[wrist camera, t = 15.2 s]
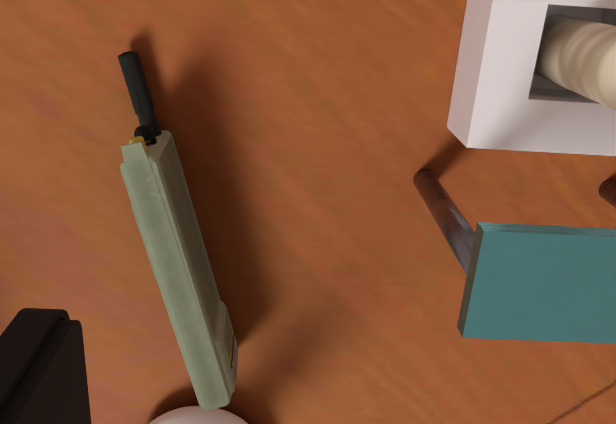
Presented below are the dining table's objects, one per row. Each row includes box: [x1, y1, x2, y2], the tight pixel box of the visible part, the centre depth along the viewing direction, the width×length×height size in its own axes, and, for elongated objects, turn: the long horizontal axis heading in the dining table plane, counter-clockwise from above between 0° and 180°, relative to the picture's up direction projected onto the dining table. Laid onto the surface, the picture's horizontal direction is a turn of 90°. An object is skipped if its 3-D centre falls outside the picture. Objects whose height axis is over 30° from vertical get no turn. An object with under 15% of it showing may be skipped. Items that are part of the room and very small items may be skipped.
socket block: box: [447, 0, 616, 156], centre depth 37 cm, size 12×12×5 cm
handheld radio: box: [118, 51, 238, 411], centre depth 41 cm, size 7×3×25 cm
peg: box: [534, 15, 616, 111], centre depth 34 cm, size 4×4×10 cm
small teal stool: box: [414, 169, 616, 343], centre depth 36 cm, size 6×16×16 cm, turn 86°
